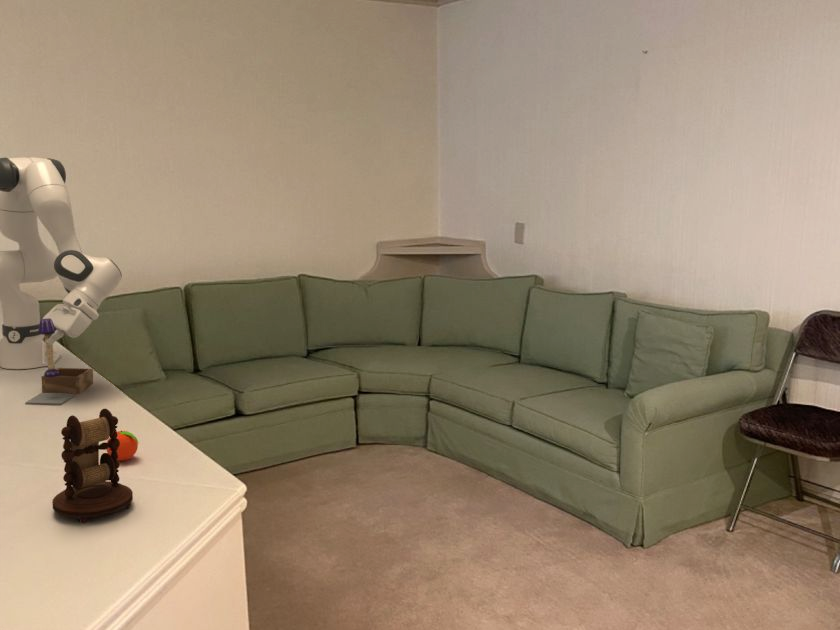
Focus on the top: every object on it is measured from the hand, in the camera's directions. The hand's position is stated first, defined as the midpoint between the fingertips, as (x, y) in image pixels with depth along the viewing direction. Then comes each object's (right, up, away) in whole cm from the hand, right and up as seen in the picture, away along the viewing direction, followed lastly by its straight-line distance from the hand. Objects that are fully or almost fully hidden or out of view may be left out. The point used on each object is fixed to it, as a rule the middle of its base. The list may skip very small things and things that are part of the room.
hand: (45, 342), depth 224 cm
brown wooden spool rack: (+42, -31, -68) cm, 86 cm away
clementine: (+38, -26, -41) cm, 62 cm away
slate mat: (0, -17, +3) cm, 17 cm away
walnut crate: (-1, -15, +16) cm, 21 cm away
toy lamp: (0, -10, +2) cm, 10 cm away
